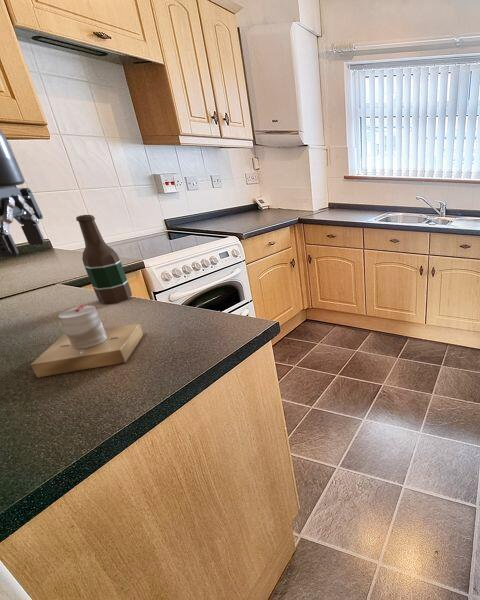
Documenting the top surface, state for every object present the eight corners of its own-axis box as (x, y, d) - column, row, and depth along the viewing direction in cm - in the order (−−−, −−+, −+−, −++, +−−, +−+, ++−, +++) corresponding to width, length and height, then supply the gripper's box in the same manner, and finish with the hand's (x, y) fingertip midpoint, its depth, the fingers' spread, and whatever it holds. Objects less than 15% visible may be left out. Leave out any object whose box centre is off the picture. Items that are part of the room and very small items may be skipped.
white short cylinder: (101, 345, 68) (87, 313, 65) (66, 351, 67) (51, 318, 64) (111, 333, 73) (99, 302, 70) (80, 337, 71) (66, 306, 68)
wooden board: (37, 377, 64) (29, 363, 62) (68, 346, 74) (62, 333, 73) (125, 362, 68) (120, 349, 67) (143, 334, 78) (139, 323, 77)
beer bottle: (99, 298, 99) (65, 215, 89) (131, 291, 103) (103, 212, 93) (99, 306, 93) (63, 219, 83) (133, 299, 98) (103, 215, 88)
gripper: (-19, 156, 51) (29, 258, 58) (34, 154, 63) (68, 239, 70) (-88, 156, 49) (-30, 263, 56) (-20, 154, 61) (21, 242, 68)
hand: (25, 249), depth 63 cm, fingers open, 8 cm apart
